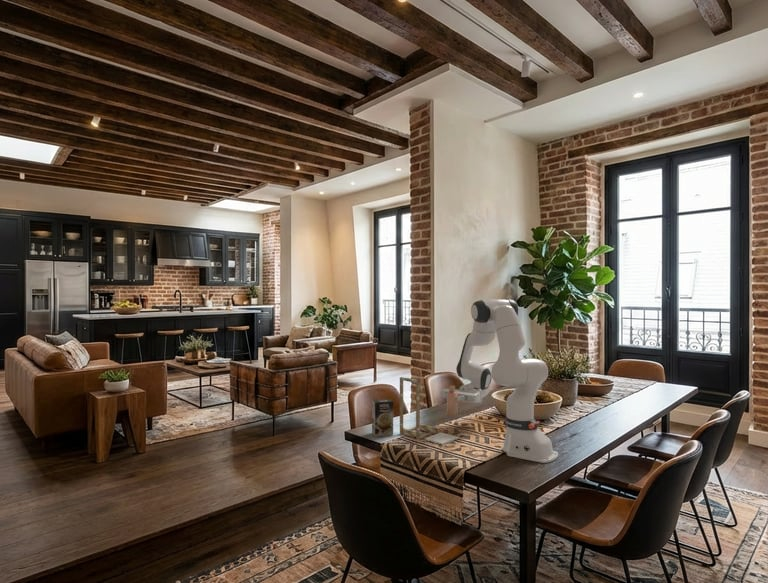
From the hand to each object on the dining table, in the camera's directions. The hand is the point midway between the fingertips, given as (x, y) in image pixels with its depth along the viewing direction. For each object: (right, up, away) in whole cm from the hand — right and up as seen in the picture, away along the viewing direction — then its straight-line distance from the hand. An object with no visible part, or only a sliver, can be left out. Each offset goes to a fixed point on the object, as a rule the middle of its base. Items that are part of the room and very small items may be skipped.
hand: (451, 398), depth 223 cm
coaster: (-6, -16, -11) cm, 20 cm away
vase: (+1, -8, +1) cm, 8 cm away
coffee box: (-33, -17, -3) cm, 37 cm away
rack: (-16, -16, -1) cm, 23 cm away
